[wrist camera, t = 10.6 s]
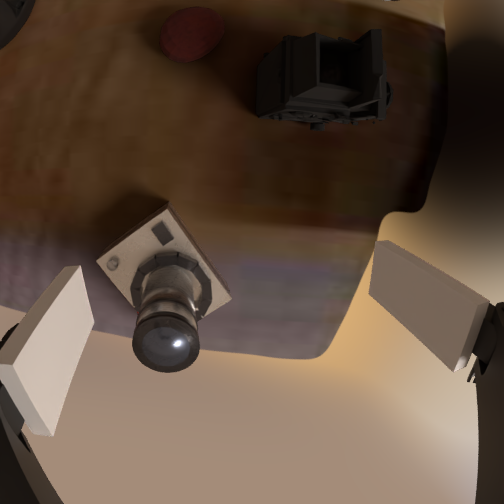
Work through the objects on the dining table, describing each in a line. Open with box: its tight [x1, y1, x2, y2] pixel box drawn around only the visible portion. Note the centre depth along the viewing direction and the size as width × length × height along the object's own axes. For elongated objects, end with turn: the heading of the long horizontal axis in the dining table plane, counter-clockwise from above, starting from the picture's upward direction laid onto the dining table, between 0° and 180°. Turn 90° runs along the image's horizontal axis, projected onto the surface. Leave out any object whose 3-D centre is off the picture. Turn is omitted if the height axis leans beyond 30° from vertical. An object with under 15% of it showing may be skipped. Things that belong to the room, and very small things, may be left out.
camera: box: [256, 29, 393, 131], centre depth 29 cm, size 10×14×20 cm
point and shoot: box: [96, 201, 232, 321], centre depth 39 cm, size 14×11×6 cm
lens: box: [132, 267, 200, 373], centre depth 32 cm, size 6×6×12 cm
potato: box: [159, 7, 225, 63], centre depth 30 cm, size 7×8×6 cm
